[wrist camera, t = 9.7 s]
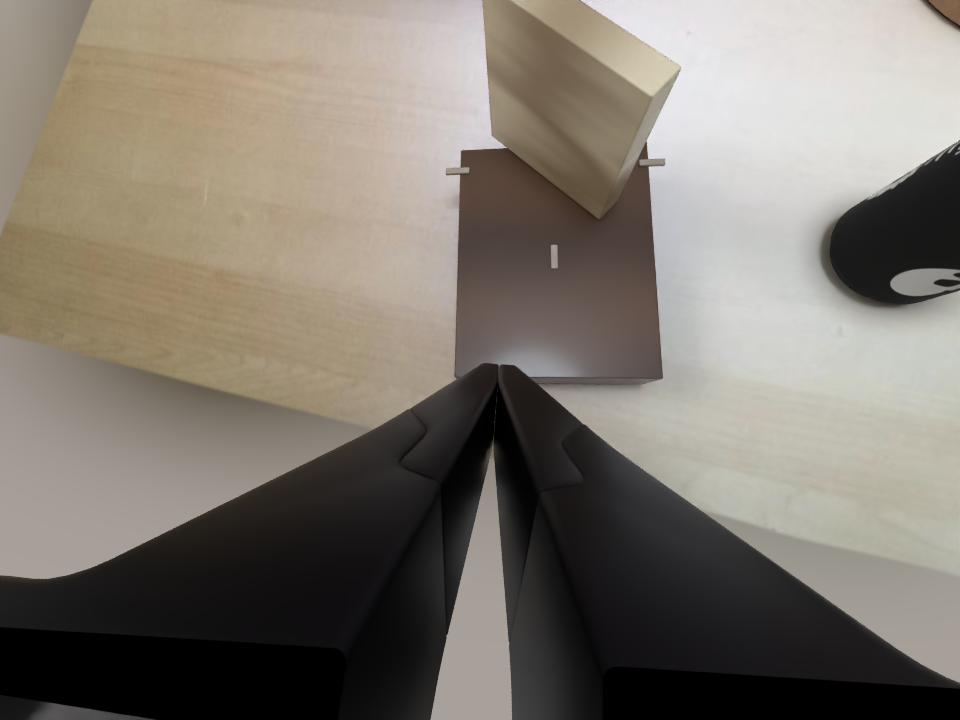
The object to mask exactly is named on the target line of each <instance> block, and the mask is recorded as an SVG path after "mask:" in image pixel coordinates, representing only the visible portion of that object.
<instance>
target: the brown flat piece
mask: <svg viewBox="0 0 960 720" xmlns="http://www.w3.org/2000/svg"><path fill="white" fill-rule="evenodd" d="M664 165H665V159H648V154H647V142H646V143H645V145H644V147H643V149H642V151H641V153H640V155H639V157H638V159H637V161H636V163H635V166H634V168H633V170H632V172H631V174H630V176H629V178H628V180H627V182H626V184H625V186H624V188H623V191H622V193H621V195H620V197H619V199H618V201H617V202H616V203H615V204H614V205H613V206H612V207H611V208H610V209H609V210H608V211H607V212H606V214H605V215H604V216H603V217H602V218H601V219H597V218H596V217H595V216H593V215H592V214H591V213H590V212H588V211H587V210H586V209H584V208H583V207H582V206H581V205H579V204H578V203H577V202H576V201H574V200H573V199H572V198H570V197H569V196H568V195H567V194H565V193H564V192H563V191H562V190H560V189H559V188H558V187H556V186H555V185H554V184H553V183H551V182H550V181H549V180H548V179H546V178H545V177H544V176H542V175H541V174H540V173H539V172H537V171H536V170H535V169H534V168H532V167H531V166H530V165H529V164H527V163H526V162H525V161H523V160H522V159H521V158H520V157H518V156H517V155H516V154H515V153H513V152H512V151H511V150H509V149H508V148H503V149H483V150H462V151H461V168H446V175H460V205H459V240H458V276H457V311H456V347H455V378H457V379H458V378H460V377H461V376H463V375H465V374H466V373H468V372H469V371H471V370H472V369H474V368H476V367H477V366H479V365H480V364H482V363H494V364H498V365H499V366H500V365H501V364H507V365H515V366H517V367H518V368H519V369H520V370H521V371H523V372H524V373H525V374H526V375H527V376H528V377H530V378H531V379H532V380H533V381H534V382H535V383H536V384H645V383H648V382H652V381H655V380H659V379H662V378H663V375H662V361H661V346H660V331H659V316H658V302H657V287H656V272H655V257H654V243H653V228H652V213H651V198H650V184H649V169H648V167H649V166H664ZM498 375H499V373H498Z"/></svg>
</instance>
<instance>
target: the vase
mask: <svg viewBox="0 0 960 720" xmlns="http://www.w3.org/2000/svg"><path fill="white" fill-rule="evenodd" d="M928 1H929V2H930V3H931V4H932V5H933V6H934V7H935V8H936V9H938V10H939V11H940V12H941V13H942V14H944V15H945V16H946V17H948V18H949V19H950V20H952V21H954V22H955V23H957V24H958V25H960V0H928Z"/></svg>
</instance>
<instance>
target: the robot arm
mask: <svg viewBox="0 0 960 720" xmlns="http://www.w3.org/2000/svg"><path fill="white" fill-rule="evenodd" d="M498 373H499V375H498ZM497 386H498V388H497ZM496 398H497V401H496ZM495 411H496V414H495ZM494 424H495V427H494ZM493 437H494V460H495V472H496V486H497V498H498V511H499V522H500V523H499V524H500V536H501V548H502V562H503V574H504V587H505V598H506V599H505V600H506V613H507V625H508V637H509V643H510V644H509V649H510V650H509V651H510V665H511V686H512V687H511V688H512V720H960V683H959V682H956V681H954V680H951V679H949V678H946V677H944V676H942V675H941V674H939V673H937V672H935V671H933V670H931V669H929V668H927V667H925V666H923V665H921V664H920V663H918V662H917V661H915V660H913V659H912V658H910V657H909V656H907V655H905V654H904V653H902V652H901V651H899V650H898V649H896V648H894V647H893V646H892V645H890V644H889V643H888V642H886V641H885V640H883V639H882V638H881V637H879V636H878V635H876V634H875V633H873V632H872V631H871V630H869V629H868V628H866V627H865V626H864V625H862V624H861V623H859V622H858V621H857V620H855V619H854V618H852V617H851V616H849V615H848V614H846V613H845V612H844V611H842V610H841V609H839V608H838V607H837V606H835V605H833V604H832V603H831V602H830V601H828V600H827V599H825V598H824V597H822V596H821V595H820V594H818V593H817V592H815V591H814V590H813V589H811V588H810V587H808V586H807V585H805V584H804V583H803V582H801V581H800V580H798V579H797V578H795V577H794V576H793V575H791V574H790V573H789V572H787V571H786V570H784V569H783V568H781V567H780V566H779V565H777V564H776V563H774V562H773V561H771V560H770V559H769V558H767V557H766V556H764V555H763V554H762V553H760V552H759V551H757V550H756V549H754V548H753V547H752V546H750V545H749V544H747V543H746V542H744V541H743V540H742V539H740V538H739V537H738V536H736V535H735V534H733V533H732V532H730V531H729V530H727V529H726V528H725V527H723V526H722V525H721V524H719V523H718V522H716V521H715V520H713V519H712V518H711V517H709V516H708V515H706V514H705V513H704V512H702V511H701V510H699V509H698V508H696V507H695V506H694V505H692V504H691V503H689V502H688V501H687V500H685V499H684V498H682V497H681V496H679V495H678V494H677V493H675V492H674V491H672V490H671V489H670V488H668V487H667V486H665V485H664V484H662V483H661V482H660V481H658V480H657V479H655V478H654V477H653V476H651V475H650V474H648V473H647V472H645V471H644V470H643V469H641V468H640V467H638V466H637V465H636V464H634V463H633V462H631V461H630V460H629V459H627V458H626V457H625V456H623V455H622V454H621V453H619V452H618V451H616V450H615V449H614V448H612V447H611V446H610V445H609V444H607V443H606V442H605V441H604V440H603V439H601V438H600V437H599V436H598V435H596V434H595V433H594V432H593V431H592V430H590V429H589V428H588V427H587V426H586V425H584V424H582V423H581V422H580V421H579V420H578V419H577V418H576V417H575V416H573V415H572V414H571V413H570V412H569V411H568V410H566V409H565V408H564V407H563V406H562V405H561V404H560V403H558V402H557V401H556V400H555V399H554V398H553V397H551V396H550V395H549V394H548V393H547V392H546V391H545V390H543V389H542V388H541V387H540V386H539V385H538V384H536V383H535V382H534V381H533V380H532V379H531V378H530V377H528V376H527V375H526V374H525V373H524V372H523V371H521V370H520V369H519V368H518V367H517V366H515V365H507V364H501V365H500V366H499V365H498V364H494V363H482V364H480V365H479V366H477V367H476V368H474V369H472V370H471V371H469V372H468V373H466V374H465V375H463V376H461V377H460V378H458V379H457V380H455V381H453V382H452V383H450V384H449V385H447V386H445V387H444V388H442V389H441V390H439V391H437V392H436V393H434V394H433V395H431V396H429V397H428V398H426V399H425V400H423V401H422V402H420V403H418V404H417V405H415V406H414V407H412V408H410V409H408V410H406V411H405V412H403V413H401V414H400V415H398V416H396V417H395V418H393V419H391V420H390V421H388V422H386V423H384V424H383V425H381V426H379V427H377V428H375V429H374V430H372V431H370V432H368V433H366V434H364V435H362V436H360V437H359V438H356V439H354V440H352V441H350V442H348V443H346V444H344V445H342V446H340V447H338V448H336V449H334V450H332V451H330V452H328V453H326V454H324V455H322V456H320V457H318V458H316V459H314V460H312V461H310V462H308V463H306V464H303V465H301V466H299V467H297V468H295V469H293V470H292V471H289V472H287V473H285V474H283V475H281V476H279V477H277V478H275V479H273V480H271V481H269V482H267V483H265V484H263V485H261V486H259V487H257V488H255V489H253V490H251V491H249V492H247V493H245V494H243V495H241V496H239V497H237V498H235V499H233V500H231V501H229V502H226V503H224V504H223V505H220V506H218V507H216V508H214V509H212V510H210V511H208V512H206V513H204V514H202V515H200V516H198V517H196V518H194V519H192V520H190V521H188V522H186V523H184V524H182V525H180V526H178V527H176V528H174V529H172V530H170V531H168V532H166V533H164V534H162V535H160V536H158V537H156V538H154V539H152V540H149V541H147V542H146V543H143V544H141V545H139V546H137V547H135V548H133V549H131V550H129V551H127V552H125V553H123V554H121V555H119V556H117V557H115V558H113V559H111V560H109V561H106V562H104V563H102V564H99V565H97V566H95V567H92V568H90V569H87V570H83V571H81V572H77V573H74V574H71V575H67V576H61V577H56V578H51V579H30V578H21V577H13V576H0V720H430V719H431V713H432V708H433V703H434V697H435V692H436V686H437V680H438V675H439V670H440V665H441V661H442V656H443V652H444V647H445V643H446V635H447V634H448V630H449V626H450V622H451V618H452V613H453V609H454V605H455V601H456V597H457V593H458V588H459V584H460V580H461V576H462V571H463V567H464V563H465V559H466V555H467V551H468V546H469V542H470V538H471V534H472V529H473V525H474V521H475V517H476V513H477V509H478V504H479V500H480V496H481V492H482V488H483V483H484V479H485V475H486V471H487V466H488V463H489V458H490V454H491V450H492V445H493Z"/></svg>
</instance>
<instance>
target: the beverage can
mask: <svg viewBox="0 0 960 720" xmlns="http://www.w3.org/2000/svg"><path fill="white" fill-rule="evenodd" d="M830 258H831V262H832V265H833V267H834V269H835V271H836V273H837V275H838V276H839V277H840V279H841V280H842V281H843V282H844V283H845V284H846V285H848V286H849V287H850V288H851V289H853V290H854V291H856V292H858V293H860V294H862V295H865V296H867V297H869V298H872V299H874V300H877V301H881V302H885V303H891V304H911V303H917V302H921V301H925V300H928V299H932V298H935V297H938V296H942V295H945V294H949V293H952V292H956V291H959V290H960V140H959V141H958V142H956V143H955V144H953V145H951V146H950V147H948V148H947V149H945V150H944V151H942V152H940V153H939V154H937V155H936V156H934V157H932V158H931V159H929V160H928V161H926V162H924V163H923V164H921V165H920V166H918V167H916V168H915V169H913V170H912V171H910V172H908V173H907V174H905V175H904V176H902V177H900V178H899V179H897V180H896V181H894V182H892V183H891V184H889V185H888V186H886V187H884V188H883V189H881V190H880V191H878V192H876V193H875V194H873V195H872V196H870V197H868V198H867V199H865V200H864V201H862V202H860V203H859V204H857V205H856V206H854V207H852V208H851V209H850V210H848V211H847V212H846V213H845V214H844V215H843V216H842V217H841V218H840V220H839V221H838V222H837V224H836V226H835V228H834V230H833V233H832V236H831V245H830Z"/></svg>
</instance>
